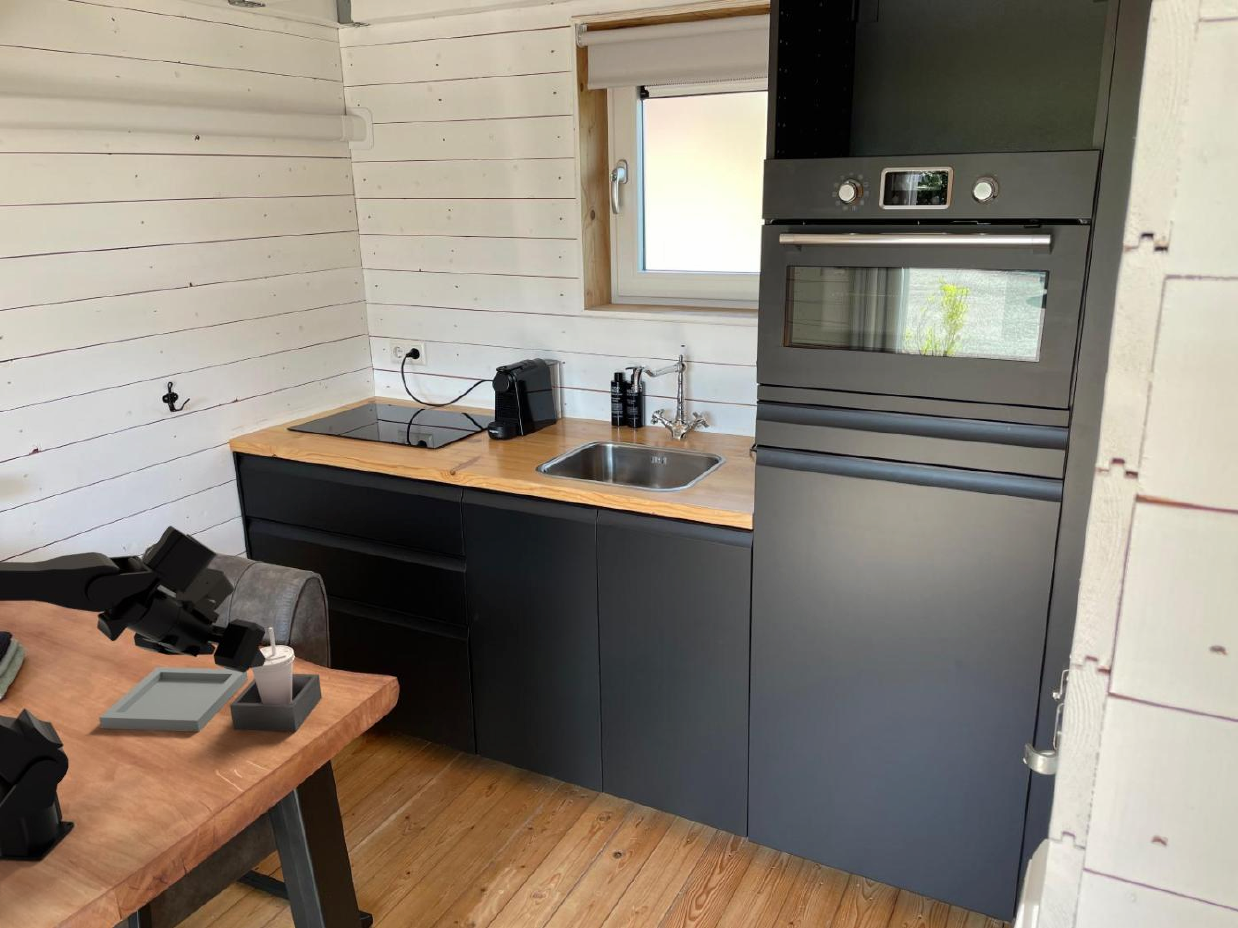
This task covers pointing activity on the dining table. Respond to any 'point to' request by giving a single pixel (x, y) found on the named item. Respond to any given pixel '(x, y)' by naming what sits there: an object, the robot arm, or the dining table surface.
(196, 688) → the tray
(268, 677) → the smoothie
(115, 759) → the dining table surface
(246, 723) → the cup holder
